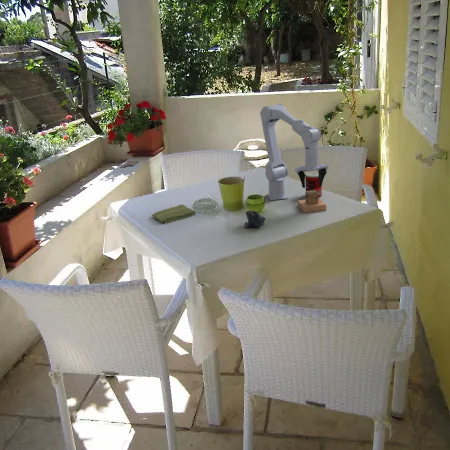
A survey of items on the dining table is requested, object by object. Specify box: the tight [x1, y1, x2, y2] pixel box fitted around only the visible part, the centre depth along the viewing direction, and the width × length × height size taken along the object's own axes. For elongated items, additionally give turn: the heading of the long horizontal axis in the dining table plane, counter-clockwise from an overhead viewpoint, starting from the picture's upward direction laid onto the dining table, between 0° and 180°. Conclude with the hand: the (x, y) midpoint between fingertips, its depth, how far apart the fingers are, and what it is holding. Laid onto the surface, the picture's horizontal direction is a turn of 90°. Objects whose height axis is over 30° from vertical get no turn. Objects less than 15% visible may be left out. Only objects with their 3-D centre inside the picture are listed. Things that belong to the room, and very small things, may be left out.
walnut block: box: [305, 190, 318, 205], centre depth 217 cm, size 4×4×5 cm
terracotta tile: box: [297, 197, 327, 214], centre depth 219 cm, size 10×10×2 cm
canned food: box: [305, 171, 323, 198], centre depth 233 cm, size 8×8×11 cm
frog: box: [244, 210, 266, 229], centre depth 202 cm, size 9×11×7 cm
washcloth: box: [151, 204, 196, 224], centre depth 222 cm, size 13×18×3 cm
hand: (311, 186), depth 216 cm, fingers open, 7 cm apart
